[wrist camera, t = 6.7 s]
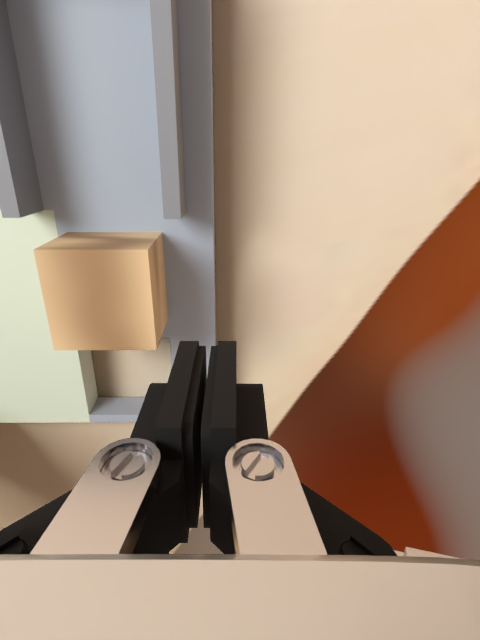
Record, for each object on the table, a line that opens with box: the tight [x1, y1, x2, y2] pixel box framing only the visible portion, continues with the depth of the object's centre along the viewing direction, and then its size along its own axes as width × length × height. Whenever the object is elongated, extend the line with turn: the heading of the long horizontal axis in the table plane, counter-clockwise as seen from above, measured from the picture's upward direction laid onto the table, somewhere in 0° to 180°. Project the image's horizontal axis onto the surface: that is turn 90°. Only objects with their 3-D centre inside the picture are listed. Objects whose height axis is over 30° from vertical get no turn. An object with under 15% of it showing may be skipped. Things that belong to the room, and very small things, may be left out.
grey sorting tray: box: [0, 0, 216, 423], centre depth 21 cm, size 15×25×4 cm, turn 179°
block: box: [33, 232, 168, 350], centre depth 20 cm, size 5×5×4 cm
